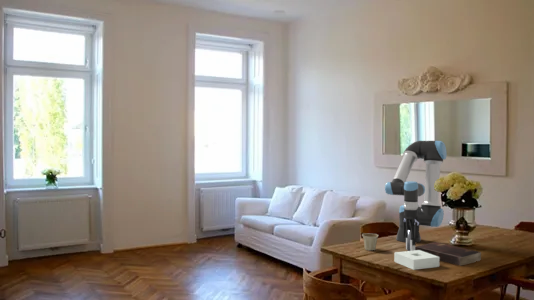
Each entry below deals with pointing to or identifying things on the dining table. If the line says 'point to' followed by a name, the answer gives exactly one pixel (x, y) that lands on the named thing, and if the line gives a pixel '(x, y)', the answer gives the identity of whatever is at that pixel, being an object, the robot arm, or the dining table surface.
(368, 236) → the flower pot
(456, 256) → the hardback book
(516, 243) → the dining table surface
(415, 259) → the bore block
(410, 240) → the pin
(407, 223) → the robot arm
